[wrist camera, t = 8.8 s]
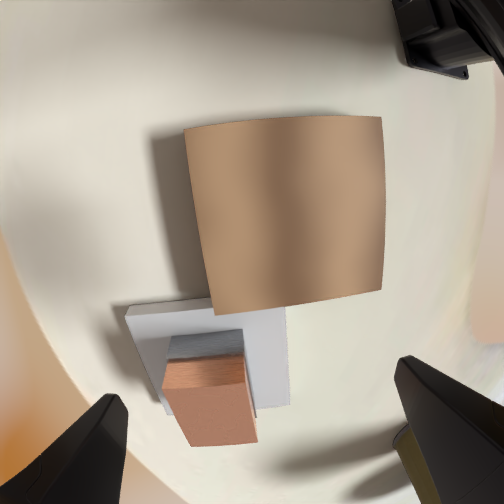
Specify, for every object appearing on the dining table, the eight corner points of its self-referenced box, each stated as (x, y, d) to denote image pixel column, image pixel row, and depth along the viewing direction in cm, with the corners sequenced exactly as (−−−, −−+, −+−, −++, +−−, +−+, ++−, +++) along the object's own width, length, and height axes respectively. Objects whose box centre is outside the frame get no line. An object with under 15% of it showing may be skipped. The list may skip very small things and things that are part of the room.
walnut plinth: (363, 119, 16) (381, 116, 14) (366, 274, 20) (381, 289, 18) (190, 132, 16) (183, 129, 14) (216, 296, 20) (214, 315, 18)
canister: (454, 417, 31) (505, 502, 12) (400, 453, 33) (440, 544, 14) (448, 392, 28) (516, 497, 9) (383, 436, 29) (433, 552, 11)
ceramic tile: (280, 287, 20) (284, 298, 19) (287, 392, 24) (290, 404, 22) (130, 305, 20) (124, 316, 18) (169, 403, 24) (167, 415, 22)
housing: (254, 394, 22) (259, 443, 17) (194, 400, 22) (190, 448, 17) (242, 328, 19) (247, 380, 14) (171, 335, 19) (159, 386, 14)
